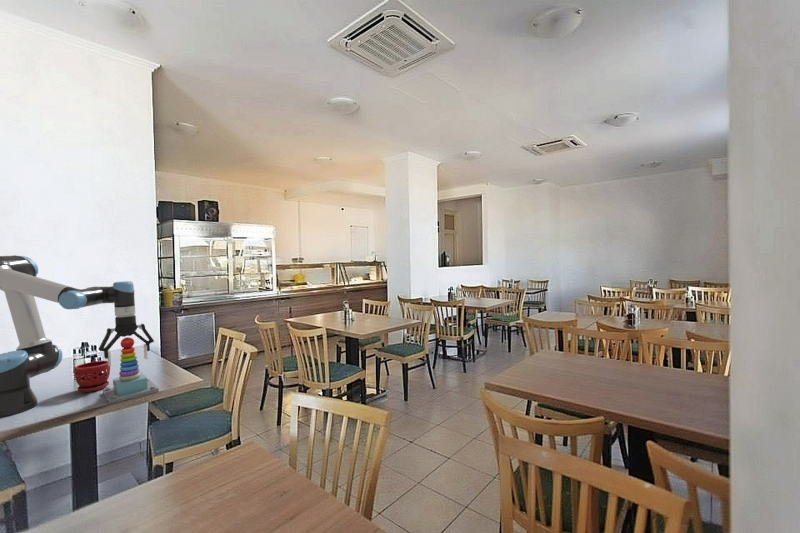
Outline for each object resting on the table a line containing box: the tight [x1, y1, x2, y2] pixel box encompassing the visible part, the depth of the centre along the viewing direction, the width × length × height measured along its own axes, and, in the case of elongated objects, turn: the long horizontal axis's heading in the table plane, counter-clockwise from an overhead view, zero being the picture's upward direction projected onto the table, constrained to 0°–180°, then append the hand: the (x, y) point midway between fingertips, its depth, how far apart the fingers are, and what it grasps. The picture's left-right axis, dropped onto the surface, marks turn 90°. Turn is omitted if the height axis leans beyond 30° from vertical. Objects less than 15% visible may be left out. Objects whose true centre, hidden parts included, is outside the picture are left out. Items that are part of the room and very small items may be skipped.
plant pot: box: [73, 360, 111, 393], centre depth 177 cm, size 13×13×12 cm
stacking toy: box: [118, 336, 141, 381], centre depth 170 cm, size 8×8×19 cm
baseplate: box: [102, 372, 160, 405], centre depth 170 cm, size 18×18×6 cm
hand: (128, 361), depth 170 cm, fingers open, 13 cm apart
